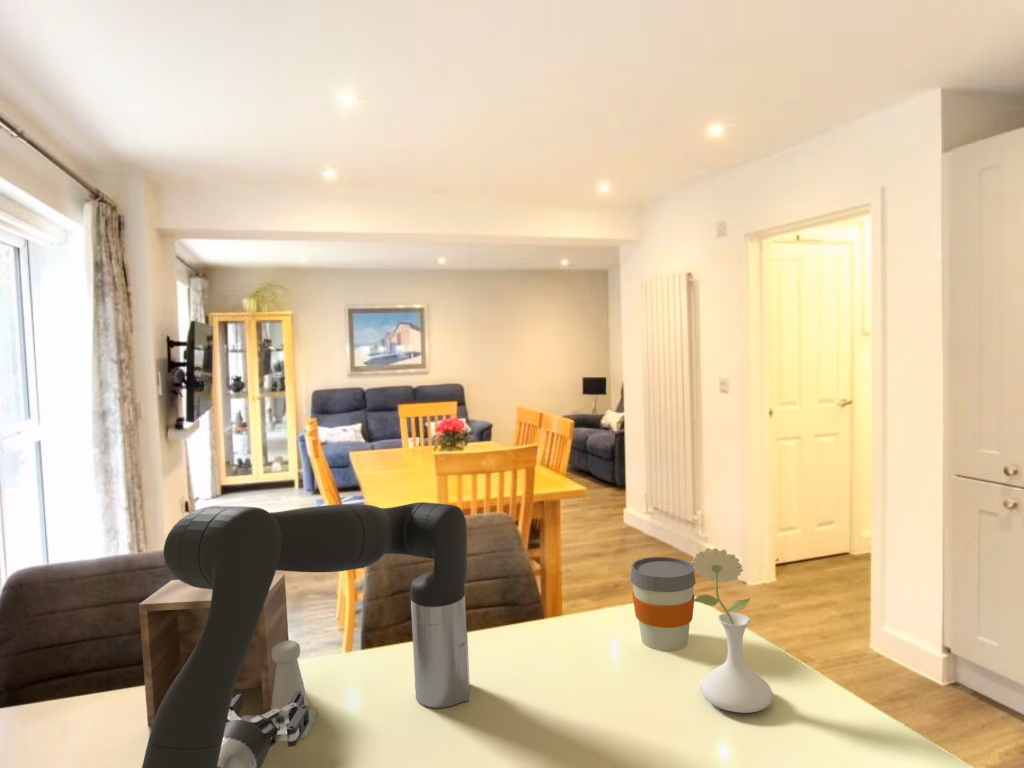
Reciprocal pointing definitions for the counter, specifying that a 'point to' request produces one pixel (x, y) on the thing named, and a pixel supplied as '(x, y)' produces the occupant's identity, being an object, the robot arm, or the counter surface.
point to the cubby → (178, 627)
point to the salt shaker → (286, 674)
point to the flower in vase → (730, 642)
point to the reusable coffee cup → (663, 601)
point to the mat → (311, 719)
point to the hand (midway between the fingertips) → (269, 698)
